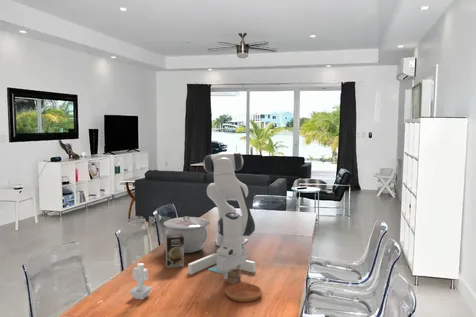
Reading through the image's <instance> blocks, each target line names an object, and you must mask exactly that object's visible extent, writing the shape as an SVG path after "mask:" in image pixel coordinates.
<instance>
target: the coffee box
mask: <svg viewBox="0 0 476 317" xmlns="http://www.w3.org/2000/svg"><path fill="white" fill-rule="evenodd" d="M165 266H166V268H167V269H170V268H179V267H184V266H185V253H184V236H183V235H182V234H177V235H166V234H165Z"/></svg>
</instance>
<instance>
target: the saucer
mask: <svg viewBox="0 0 476 317" xmlns="http://www.w3.org/2000/svg"><path fill="white" fill-rule="evenodd" d="M262 293H263V289H262V288H261V287H259V285H256V284H253V283H244V282H243V283H235V284H231V285H229V286H228V287H226V288H225V294H226V296H227V297H228V298H229V299H231V300H232V301H234V302H238V303H239V302H240V303H248V302H249V303H251V302H253V301H256V300H257V299H258V298H260V296H262Z"/></svg>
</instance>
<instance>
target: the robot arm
mask: <svg viewBox="0 0 476 317" xmlns="http://www.w3.org/2000/svg"><path fill="white" fill-rule="evenodd" d="M202 165H203V169H204V171H205V172H206V173H208V174H213V182H211V183H209V184H208V185H207V187H206V196H207V197H208V198H209V199H210V200H211V201H212V202H213V203H214V204H215V207H217V214H218V216H217V217H218V221H217V230H216V239H215V241H214V242H215V245H216V246H217V247H218V248H217V249H216V253H217V254H218V256H217V264H216V265H217V270H218V271H220V272H223V273H222V274H223V278H224V280H225V279H228V278H229V275H228V274H227V272H228V270H229V269H231V268H233V267H235V266H237V269H241V266H242V263H243V262H246V260H248V256H247V254H248V252H247V248H246V243H248V242H249V238H246V237H250V236H251V235H252V234H253V233H254V232H255V230H256V223H255V220H254V218H253V215H252V213H251V209H250V206H249V203H248V200H247V199H248V198H247V197H248V196H249V189H248V186H247V184H245V183H243V182H241V181H240V180H239V179H238V178H237V176H236V173H235V171H236V172H237V171H241V169H242V168H243V165H244V158H243V155H242V154H241V153H240V152H239V151H233V152H232V151H230V152H229V151H228V152H227V151H221V152H218V153H214V154H208V155H206V156H205V157H204V158H203V162H202ZM228 201H237V203H238V206H239V209H240V212H241V215H240V214H239V213H237V210H236V207H234V206H233V205H231V204H229V203H228Z"/></svg>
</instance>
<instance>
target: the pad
mask: <svg viewBox="0 0 476 317" xmlns="http://www.w3.org/2000/svg"><path fill="white" fill-rule="evenodd" d="M206 269H207V268H206ZM207 271H210V272H212V273H213V272H214V273H218V274H223V272H220V271H218V270H217V264H215V265H213V266H212V267H208V269H207Z"/></svg>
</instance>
